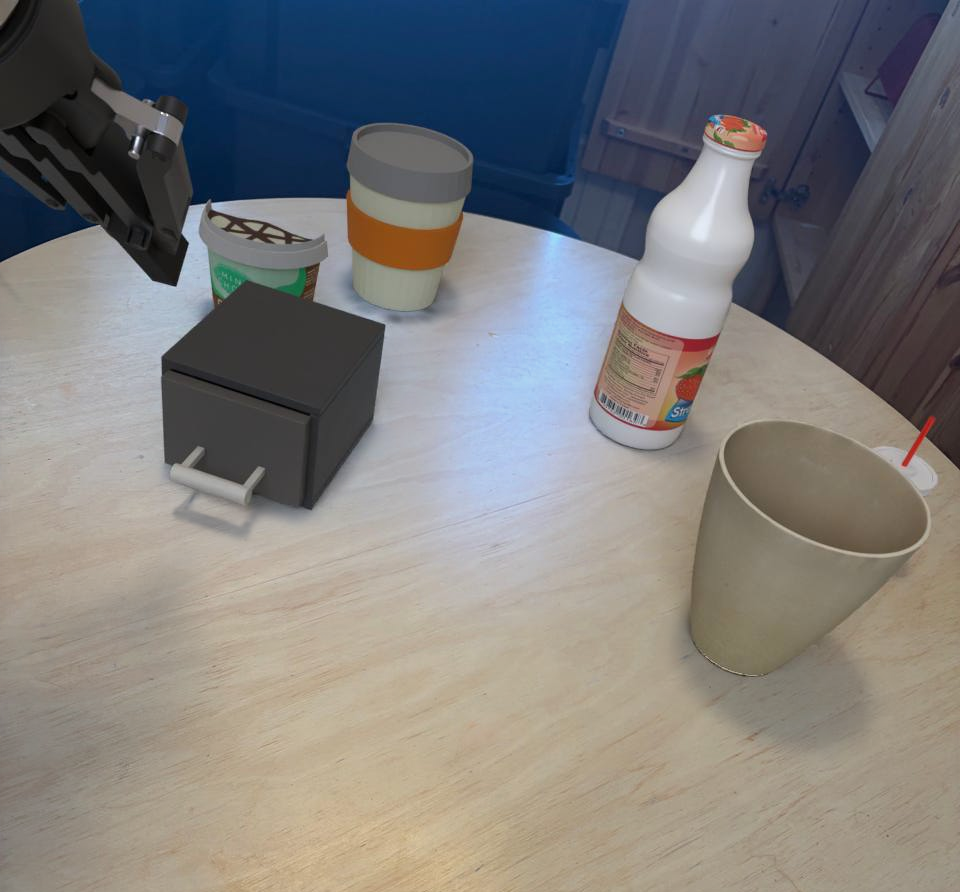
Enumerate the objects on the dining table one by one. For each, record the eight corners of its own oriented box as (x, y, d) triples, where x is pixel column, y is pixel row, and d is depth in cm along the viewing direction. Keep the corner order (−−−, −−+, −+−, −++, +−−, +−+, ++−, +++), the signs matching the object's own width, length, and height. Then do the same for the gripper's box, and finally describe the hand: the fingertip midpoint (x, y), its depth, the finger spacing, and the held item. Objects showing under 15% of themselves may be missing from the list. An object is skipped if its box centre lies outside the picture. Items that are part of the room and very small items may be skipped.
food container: (177, 324, 94) (174, 221, 87) (205, 297, 98) (204, 197, 91) (299, 361, 94) (306, 260, 86) (322, 333, 98) (330, 235, 91)
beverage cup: (893, 546, 91) (975, 418, 81) (878, 579, 87) (963, 448, 77) (832, 516, 92) (905, 387, 83) (814, 548, 88) (889, 416, 79)
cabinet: (311, 510, 79) (320, 408, 72) (165, 462, 79) (160, 356, 73) (373, 420, 89) (386, 324, 82) (243, 378, 90) (246, 279, 83)
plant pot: (693, 726, 70) (784, 560, 59) (617, 583, 80) (684, 417, 68) (863, 707, 75) (977, 550, 64) (773, 574, 84) (859, 418, 73)
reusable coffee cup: (318, 265, 108) (330, 120, 97) (421, 260, 113) (443, 123, 103) (362, 323, 101) (379, 174, 90) (470, 316, 106) (498, 174, 96)
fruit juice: (588, 389, 100) (678, 93, 81) (677, 409, 101) (788, 120, 81) (586, 440, 94) (684, 131, 74) (681, 461, 94) (803, 160, 75)
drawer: (276, 538, 74) (281, 454, 69) (137, 491, 75) (131, 404, 69) (359, 422, 87) (368, 343, 81) (238, 383, 87) (240, 302, 82)
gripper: (-274, 27, 34) (48, 295, 58) (80, 117, 34) (259, 351, 57) (-211, -175, 34) (83, 174, 58) (141, -89, 34) (294, 228, 57)
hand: (170, 261), depth 58 cm, fingers closed
